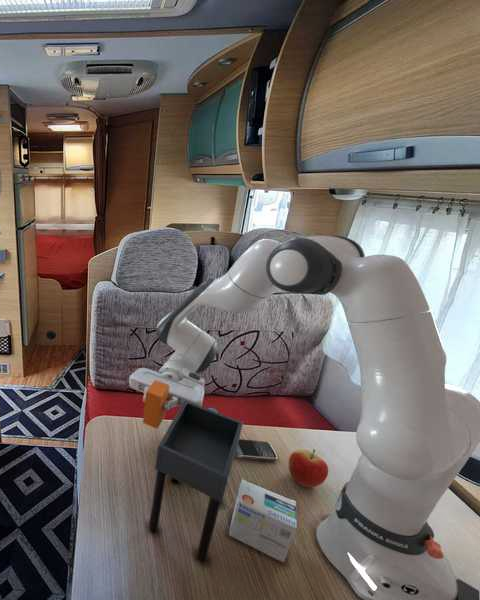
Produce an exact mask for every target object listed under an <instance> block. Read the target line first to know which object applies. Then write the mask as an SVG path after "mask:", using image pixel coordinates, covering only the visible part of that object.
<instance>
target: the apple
mask: <svg viewBox="0 0 480 600" xmlns="http://www.w3.org/2000/svg"><path fill="white" fill-rule="evenodd" d="M315 452H316V450H315V448H313V452H312V451H309V450H307V449H296V450H294V451H292V453H290V456H289V459H288V471H289V474H290V476H291V477H292V479H293V480H294V482H296V483H297V484H299V485H301V486H303V487H306V488H315V487H318V486H320V485H321V484H324V482H325V481H326V480H327V478H328V475H329V466H328V464H327V462H326V461H325V460H324V459H323V458H321V457H320V456H318V455H317V454H315Z"/></svg>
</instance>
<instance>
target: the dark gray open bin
mask: <svg viewBox="0 0 480 600" xmlns="http://www.w3.org/2000/svg"><path fill="white" fill-rule="evenodd" d="M217 412H218V411H217ZM217 412H214V411H212V410H209V409H208V407H203V406H202V407H201V406H199V405H196V404H193V403H191V402H188V401H184V402H183V404H182V406H181V407H179V409H178V411H177V413H176V414H175V417H174V418H173V420H172V421H171V423H170V425H169V427H168V429H167V430H166V432H165V434H164V435H163V437H162V439H161V441H160V442H159V444H158V446H157V452H156V459H155V467H154V468H155V470H156V471H157V470H158V471H160V472H162V473H164V474H166V476H168V477H170V478H174V479H176V480H178V481H179V482H180V483H182V484H184V485H186V486H188V487H190V488H191V489H194V490H196V491H197V492H200V493H202V494H203V495H205V496H208V497H209V498H210V497H211V498H213V499H215V500H217V501H219V502H222V503H223V500H224V496H225V492H226V489H225V488H227V485H228V481H229V478H230V475H231V470H232V467H233V463H234V460H235V456H236V455H235V453H236V449H237V446H238V442H239V439H240V437H241V434H242V429H243V426H244V421H241V420H238V419H236V418H233V417H231V416H228V415H225V414H222V413H220V412H218V413H217ZM223 495H224V496H223ZM222 499H223V500H222Z"/></svg>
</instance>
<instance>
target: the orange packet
mask: <svg viewBox="0 0 480 600" xmlns="http://www.w3.org/2000/svg"><path fill="white" fill-rule="evenodd" d="M168 393H169V385H168V384H165V383H162V382H159V381H157V380H155V381H154V382H153V383H152V385H151V386H150V387H149V388H148V390H147V391H146V398H145V402H144V407H143V417H142V418H143V419H142V423H143V424H145V425H147V426H149V427H151V428H154V429H156V430H158V428H159V427H160V425H161V423H162V422H163V421H164V419H165V417H166V413H167V411H166V410H163V409H162V408H163V403H164V402H165V401H167V400H168Z"/></svg>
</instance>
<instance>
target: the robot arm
mask: <svg viewBox="0 0 480 600" xmlns="http://www.w3.org/2000/svg"><path fill="white" fill-rule="evenodd" d="M277 289H279V290H282V291H284V292H288V293H294V294H302V295H303V294H304V295H318V296H325V295H327V294H329V293H330V294H332V295H334V296H335V297H336V299H338V300H339V302H340V304H341V306H342V309H343V312H344V315H345V319H346V322H347V326H348V329H349V333H350V336H351V339H352V342H353V346H354V349H355V353H356V356H357V360H358V365H359V374H360V399H361V400H360V402H361V403H360V405H361V409H360V410H361V411H360V418H359V422H358V426H357V428H356V434H355V439H356V443H357V446H358V448H359V450H360V452H361V455H360V456H359V458H358V460H357V463H356V464H355V467H354V469H353V472H352V473H351V476H350V478H349V480H348V481H347V482H346V483H345V484H344V485H343V487H342V489H341V490H340V491H339V494H338V496H337V497H336V500H335V506H334V509H333V510H332V512H330V514H329V515H328V516H327V517H326V518H325V519H324V520H322V521H321V522H320V523H318V524H317V527H316V539H317V542H318V545H319V547H320V549H321V551H322V552H323V554H324V555H325V557H326V558H327V560H328V561H329V562H330V563H331V564H332V566H334V567H335V569H336V570H337V571H338V572H339V573H340V574H341V575H342V576H343V577H344V578H345V579H346V580H347V582H348V584H349V585H350V587H351V588H352V590H353V591H354V593H355V594H356V595H357V596H358V597H359V598H360V599H362V600H480V590H479V589H477V588H475V587H474V586H472V585H470V584H469V583H468V582H467V583H466V582H465V581H464V580H462V579H460V578H457V577H456V574H455V572H454V570H453V567H452V565H451V563H450V561H449V559H448V558H447V556H446V554H445V552H443V551H442V549H441V548H442V546H441V545H440V544H439V542H436V541H434V538H435V533H434V530H433V528H432V527H431V526H430V525H429V521H428V519H429V518H430V516H431V515H432V513H433V511H434V510H435V508H436V506H437V504H438V503H439V502H440V500H441V498H442V497H443V495H444V494H445V492H447V490H448V488H449V487H450V486H451V485H452V484H453V482H454V480H455V479H456V477H457V476H458V475H459V473H460V472H461V470H463V467H464V466H465V465H466V463H467V462H468V461H469V459H470V457H471V456H472V455H473V453H474V452H475V450H476V449H477V447H478V445H479V444H480V401H479V399H477V397H475V396H474V395H472V394H471V393H470V392H468V391H466V390H464V389H462V388H460V387H457V386H454V385H451V384H446V366H447V353H446V351H445V348H444V345H443V342H442V339H441V336H440V333H439V330H438V327H437V324H436V322H435V318H434V315H433V312H432V310H431V307H430V304H429V301H428V299H427V297H426V294H425V292H424V290H423V287H422V286H421V284H420V282H419V280H418V278H417V276H416V275H415V273H414V271H413V270H412V269H411V267H410V266H409V264H408V263H407V262H406V261H405V260H404V259H403V258H401V257H400V256H399V257H398V256H396V255H392V254H370V255H368V256H366V253H365V251H364V249H363V248H362V246H361V245H360V244H359V243H358V242H356V241H355V240H353V239H351V238H349V237H345V236H341V235H310V236H309V235H308V236H305V237H304V236H303V237H297V238H292V239H289V240H287V241H284V242H280V241H278V240H275V239H269V238H268V239H266V238H265V239H264V238H263V239H259V240H257V241H255V242H254V243H253V244H251V246H249V247H248V248H247V249H246V250H245V251H244V252H243V253H242V254H241V255H240V256H239V257H238V258H237V260H236V261H235V262H234V263H233V264H232V266H231V267H230V268H229V270H228V271H227V272H226V273H225V274H224V275H222V276H220V277H218V278H208V279H206V280H204V281H203V282H201V283H200V284H199V285H198V286H196V287H195V289H194V290H193V291H191V293H189V294H188V295H187V296H186V297H185V298H184V299H183V300H182V301H181V302H180V303H179V304H178V305H177V306H176V307H175V308H174V309H173V310H172V311H171V312H169V313H167V314H166V315H164V317H162V318H161V320H160V321H159V322H158V324H157V325H156V329H155V332H156V335H157V339H158V341H159V342H161V343H163V344H164V345H166V346H168V347H169V348H171V349H172V350H174V352H173V353H171V355H170V356H169V357H168V359H167V360H166V361H165V362H164V364H163V365H162V366H161V367H160V368H159V370H158V371H156V370H152V369H150V368H147V367H139V368H137V369H136V370H135V371H134V372H132V373H131V374H130V376H129V378H128V385H129V387H130V389H132V390H135V391H138V392H141V393H143V396H142V402H144V403H145V398H146V391H147V390H148V388H149V387H150V386H151V385H152V383H153V382H154V381H155V380H157V381H159V382H162V383H165V384H168V385H169V393H168V400H167V401H165V402H164V403H163V408H162V409H163V410H166V412H169V410H170V409H172V408H176V407H179V408H181V406H182V404H183V402H184V401H188V402H191V403H193V404H196V405H199V406H201V407H203V403H204V396H205V379H204V378H203V377H201V376H200V375H198V374H199V373H202V372H204V371H206V370H207V369H208V368H209V367H210V366H211V364H212V363H213V361H214V360H215V358H216V356H217V354H218V352H219V344H218V341H217V339H215V338H214V337H213V336H212V335H210V334H209V333H207V332H205V330H202V329H201V328H200V327H198V326H197V325H196V324H194V323H192V322H191V321H190V320H188V318H187V317H189V315H190V314H192V313H193V312H194V311H195V310H196V309H198V308H199V307H211V308H214V309H215V308H216V309H219V310H222V311H225V312H229V313H233V314H246V313H250V312H254V311H256V310H257V309H258V308H260V307H261V306H262V305H263V304H264V303H265V302H267V300H268V299H269V298H270V297H271V296H272V295H273V294H274V293H275V291H276V290H277Z"/></svg>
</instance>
